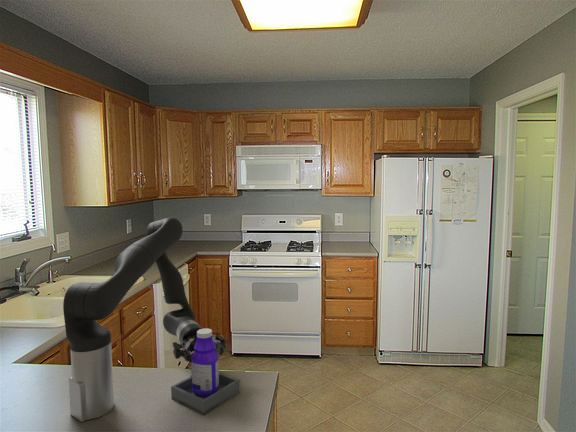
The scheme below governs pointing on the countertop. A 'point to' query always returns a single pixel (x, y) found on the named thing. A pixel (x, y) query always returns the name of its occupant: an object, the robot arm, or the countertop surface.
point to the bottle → (205, 365)
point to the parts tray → (200, 403)
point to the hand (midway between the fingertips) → (206, 355)
